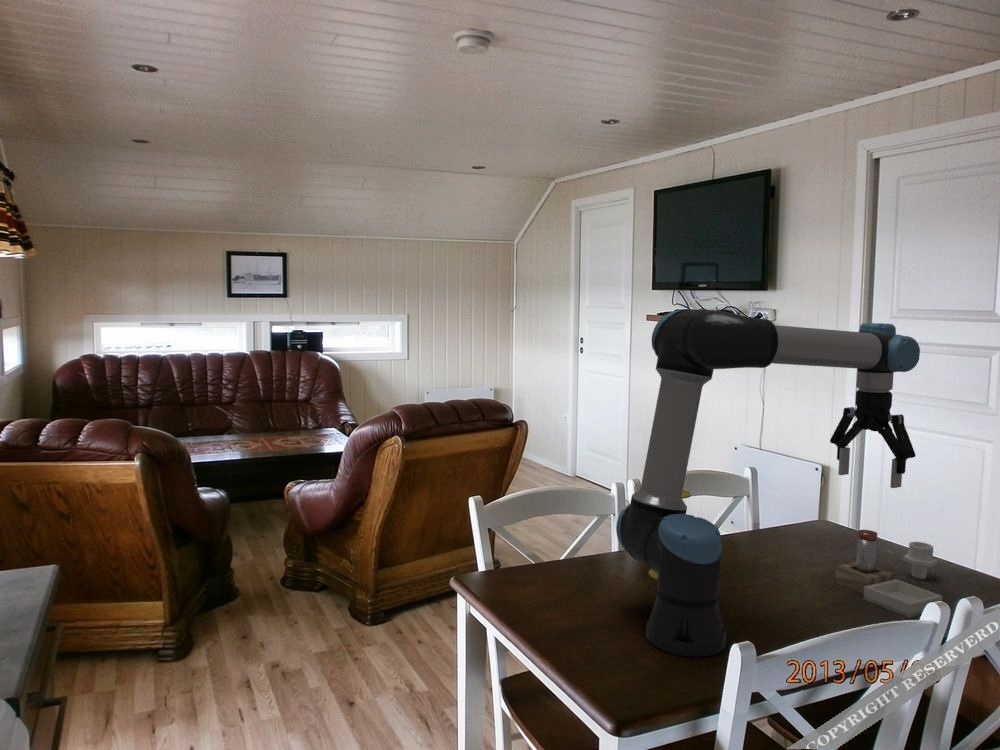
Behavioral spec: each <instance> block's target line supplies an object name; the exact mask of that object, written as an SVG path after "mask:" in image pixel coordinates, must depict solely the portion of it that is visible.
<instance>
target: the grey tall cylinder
mask: <svg viewBox="0 0 1000 750" xmlns="http://www.w3.org/2000/svg"><path fill="white" fill-rule="evenodd" d="M877 544H878V532H876V531H875V530H870V529H858V532H857V545H856V561H855V562H856V570H857V571H859V572H862V573H865V574H867V575H868V574H872V573H875V566H876V559H877V558H876V556H877V555H876V554H877V547H878V546H877Z"/></svg>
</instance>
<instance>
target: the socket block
mask: <svg viewBox="0 0 1000 750" xmlns="http://www.w3.org/2000/svg"><path fill="white" fill-rule="evenodd" d="M834 575H835V576H834V583H835V584H838V585H841V586H843V587H846V588H848V589H850V590H853V591H856V592H858V593H860V594H863V595H864V586H869V585H873V584H878V583H882V582H886V581H891V580H895V579H896V572H894V571H891V570H888V569H885V568H883V567H880V566H877V565H875V573H872V574H868V575H867V574H865V573H862V572H859V571H857V570H856V561H853V562H849V563H843V564H840V565H839V564H838V565H835V572H834Z"/></svg>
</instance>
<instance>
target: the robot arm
mask: <svg viewBox="0 0 1000 750" xmlns="http://www.w3.org/2000/svg"><path fill="white" fill-rule="evenodd" d="M896 330H897V329H896V326H895V325H894V324H892V323H879V322H877V323H875V322H873V323H872V322H868V323H867V322H866V323H865V322H864V323H861V324H860V326H859V330H858V331H850V330H849V331H848V330H838V329H837V330H836V329H826V328H815V327H802V326H789V325H777V324H775V323H774V322H773V321H771V319H767V318H758V317H751V316H748V315H747V316H745V315H741V314H737V313H733V312H729V311H722V310H712V309H711V310H705V309H693V308H692V309H691V308H685V309H679V310H673V311H670V312H668V313H667V314H665V315H664V316H662V317H660V319H659V320H658V322H657V323H656V324H655V327H654V328H653V331H652V335H651V347H652V350H653V351H654V354H655V355H656V357H657V359H656V365H655V371H657V373H658V375H659V376H660V384H659V389H658V394H657V399H656V406H655V410H654V416H653V421H652V426H651V432H650V437H649V441H648V446H647V447H648V448H647V453H646V459H645V464H644V468H643V474H642V478H641V479H642V480H641V484H640V489H639V490H637V491H635V492H634V493H632V495H631V497H630V503H629V504H627V505H626V506H625V509H622V510H621V512H620V514H619V515H618V518H617V521H616V527H615V528H616V537H617V540H618V542H619V544H620V545H621V547H622V549H623V550H624V551H625V552H626V553H628V556H630V557H631V558H632V559H633V560H636V561H638V562H640V563H641V564H643V565H645V566H646V567H647V568H649V569H650V570H651V569H652V570H654V571H655V572H657V573H658V577H657V580H656V581H657V583H656V584H657V585H656V598H655V601H654V603H653V607H652V610H651V613H650V616H649V618H648V619H647V621H646V625H645V628H646V629H645V631H646V632H645V637H646V639H647V641H648V642H649V643H650V644H651V645H653V646H654V647H656V648H658V649H659V650H662V651H665V652H666V653H671V654H673V655H678V656H683V657H684V656H685V657H693V658H694V657H696V658H698V657H699V658H700V657H710V656H715V655H717V654H719V653H721V652H722V651H724V649H726V645H727V644H726V642H727V632H726V628H725V627H724V626H725V625H724V622H723V618H722V617H723V616H722V615H721V609H720V606H719V593H720V591H719V590H720V578H721V577H720V574H721V557H722V556H721V555H722V553H723V548H722V535H721V532H720V530H719V528H718V527H717V525H715V524H714V523H713V522H711V521H710V520H708V519H705V518H703V517H699V516H697V517H696V516H694V515H692V514H687V511H688V506H687V504H686V503H685V501H684V500H683V499H682V492H683V490H684V487H685V486H684V485H685V480H686V475H687V471H688V465H689V459H690V453H691V449H692V443H693V440H694V439H693V438H694V432H695V428H696V424H697V423H696V422H697V417H698V413H699V408H700V401H701V397H702V391H703V387H704V385H706V384H707V383H708V382H710V381H711V380H713V379H712V378H713V375H714V370H726V369H741V368H743V369H745V368H749V369H750V368H755V369H756V368H758V369H764V368H767V367H769V366H770V365H772V364H777V365H793V366H806V367H808V366H809V367H825V368H828V367H829V368H844V369H857V371H856V372H857V373H856V382H855V383H856V385H855V388H857V391H856V392H855V406H856V408H855V407H853V406H851V407H845V408H843V412H842V417H841V419H840V421H839V422H838V424H837V426H836V428H835V430H834V432H833V433H832V436H831V438H830V439H829V442H830V444H833V445H835V446H836V448H837V451H836V453H837V454H836V460H837V461H838V471H837V472H838V473H837V476H844V475H846V476H847V475H849V474H850V473H849V472H850V456H851V454H850V453H851V447H850V445H849V444H851V442H852V441H853V440H854V439H855V438H856V437H857V436H858V435H859V434H860V433H861V432H862V431H863V430H864V431H866V430H867V431H868V430H869V431H870V432H877V433H878V434H879V435H881V437H882V438H883V440H884V442H885V443H886V444H887V446H888V448H889V449H890V450H891V452H892V454H893V456H894V457H895V458H892V459H891V470H890V486H889V487H890V488H891V489H897V488H902V481H903V474H905V473H906V465H907V460H908V459H913V458H916V452H915V449H914V447H913V444H912V440H910V436H909V433H908V431H907V429H906V425H905V416H904V415H903V414H891V409H892V406H893V405H892V403H893V393H892V392H891V390H893V387H894V373H907V372H909V371H911V370H913V369H914V368H915V367H916V366H917V365H918V363H919V361H920V356H921V348H920V346H919V343H918V342H917V340H916V339H915V338H914V337H912V336H909V335H902V334H897V333H896V332H897V331H896ZM854 417H856V421H855V422H854V423H853V424H852V426H851V427H850V425H851V423H852V422H853V420H854ZM890 424H891V425H892V426H891V425H890ZM849 427H850V428H849Z"/></svg>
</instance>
